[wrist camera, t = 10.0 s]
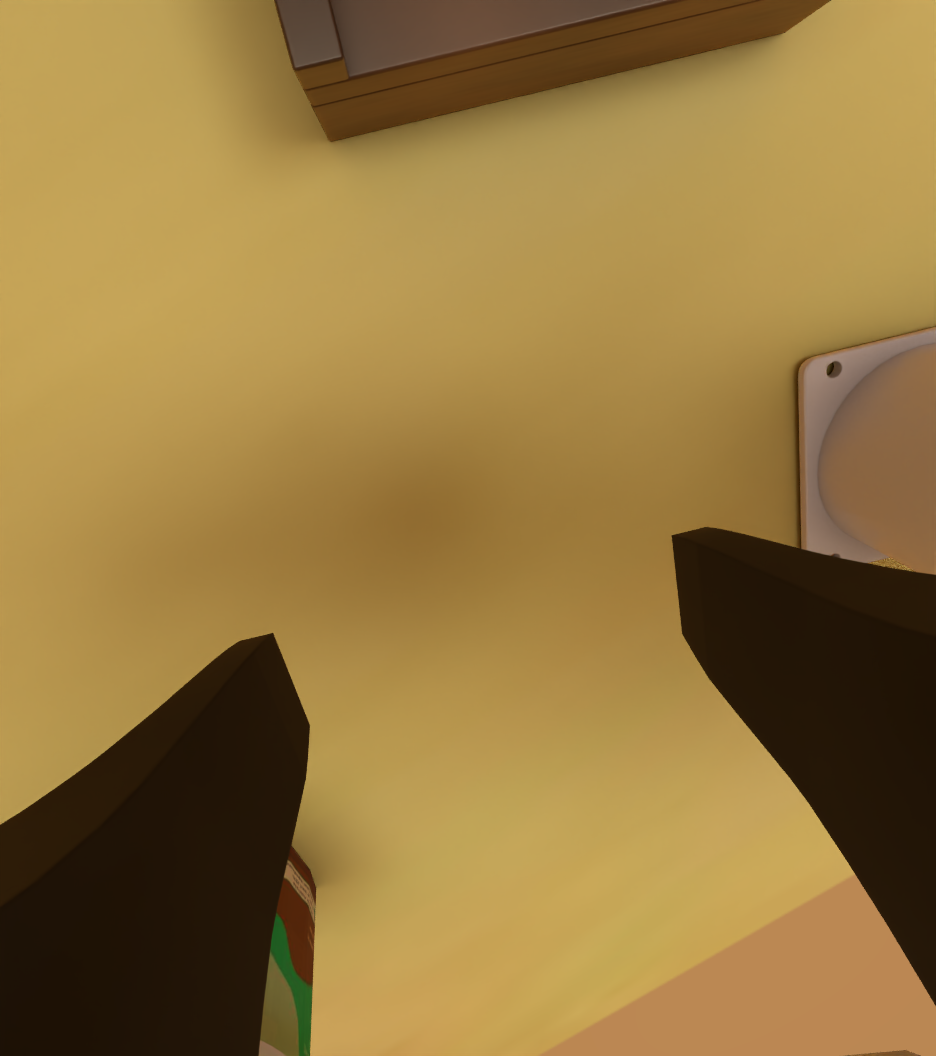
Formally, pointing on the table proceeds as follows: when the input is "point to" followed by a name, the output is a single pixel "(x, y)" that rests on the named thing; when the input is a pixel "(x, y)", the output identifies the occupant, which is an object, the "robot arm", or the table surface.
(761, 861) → the table surface
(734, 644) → the robot arm
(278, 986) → the food container
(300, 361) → the table surface
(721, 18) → the shelf
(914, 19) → the table surface
